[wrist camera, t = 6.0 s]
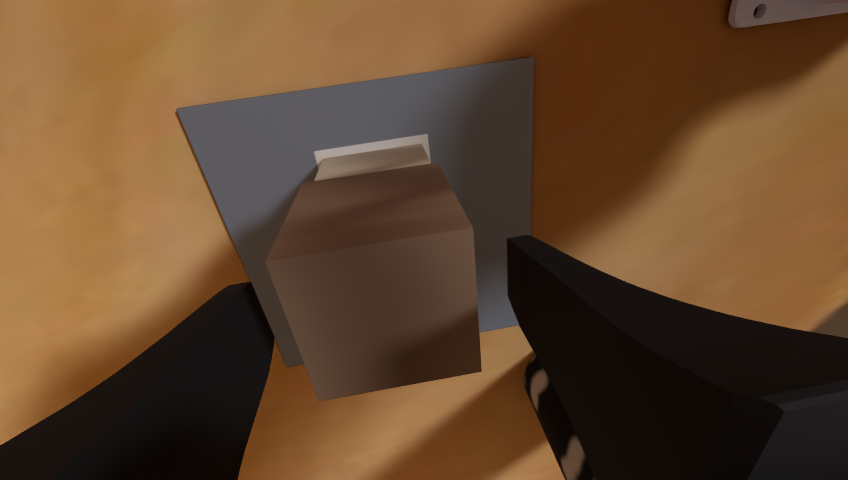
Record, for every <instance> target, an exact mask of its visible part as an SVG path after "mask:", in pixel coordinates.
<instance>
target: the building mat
mask: <svg viewBox="0 0 848 480" xmlns="http://www.w3.org/2000/svg"><path fill="white" fill-rule="evenodd" d="M533 98H534V57H528V58H521V59H514V60H507V61H500V62H493V63H487V64H480V65H473V66H466V67H459V68H452V69H445V70H438V71H431V72H425V73H418V74H411V75H404V76H397V77H390V78H383V79H376V80H370V81H363V82H356V83H349V84H342V85H335V86H328V87H321V88H315V89H308V90H301V91H294V92H287V93H280V94H273V95H266V96H259V97H253V98H246V99H239V100H232V101H225V102H218V103H211V104H204V105H198V106H191V107H184V108H178V109H176V110H177V112H178V115H179V117H180V119H181V122H182V124H183V126H184V129H185V131H186V133H187V136H188V138H189V140H190V143H191V145H192V147H193V150H194V152H195V154H196V157H197V159H198V161H199V164H200V166H201V168H202V171H203V173H204V175H205V178H206V180H207V182H208V185H209V187H210V189H211V192H212V194H213V196H214V199H215V201H216V203H217V206H218V208H219V210H220V213H221V215H222V217H223V220H224V222H225V224H226V227H227V229H228V231H229V234H230V236H231V238H232V241H233V243H234V245H235V248H236V250H237V252H238V255H239V257H240V259H241V262H242V264H243V266H244V269H245V271H246V273H247V276H248V278H249V280H250V282H251V283H252V285H253V287H254V290H255V292H256V295H257V297H258V299H259V302H260V304H261V306H262V309H263V311H264V313H265V316H266V318H267V320H268V323H269V325H270V327H271V330H272V332H273V334H274V337H275V341H276V343H277V346H278V348H279V350H280V353H281V355H282V357H283V360H284V362H285V364H286V367H292V366H297V365H303V364H304V362H303V359H302V357H301V354H300V351H299V349H298V346H297V344H296V341H295V338H294V336H293V333H292V331H291V328H290V325H289V323H288V320H287V318H286V315H285V312H284V310H283V307H282V305H281V302H280V299H279V297H278V294H277V292H276V289H275V286H274V284H273V281H272V279H271V276H270V273H269V271H268V268H267V266H266V263H265V261H266V259H267V257H268V254H269V252H270V250H271V248H272V246H273V244H274V242H275V240H276V238H277V236H278V233H279V231H280V229H281V227H282V225H283V223H284V221H285V219H286V217H287V214H288V212H289V210H290V208H291V206H292V204H293V202H294V200H295V198H296V196H297V193H298V191H299V189H300V187H301V185H302V183H305V182H312V181H314V180H315V177H316V175H317V172H318V170H319V167H320V165H321V162H322V160H323V159H324V158H330V157H336V156H343V155H349V154H356V153H362V152H369V151H375V150H382V149H388V148H395V147H401V146H407V145H414V144H420V143H422V145H423V147H424V150H425V152H426V154H427V156H428V158H429V160H430V162H431V163H437V162H438V163H439V165H440V167H441V169H442V171H443V173H444V175H445V176H446V178H447V180H448V182H449V184H450V186H451V188H452V189H453V191H454V193H455V195H456V197H457V199H458V201H459V202H460V204H461V206H462V208H463V210H464V212H465V214H466V215H467V217H468V219H469V221H470V223H471V225H472V227H473V233H474V250H475V267H476V285H477V302H478V319H479V332H484V331H490V330H495V329H501V328H506V327H512V326H517V325H519V323H518V321H517V319H516V316H515V314H514V311H513V309H512V306H511V303H510V301H509V298H508V289H507V238H512V237H517V236H523V235H529V236H531V194H532V146H533Z"/></svg>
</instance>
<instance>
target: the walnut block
mask: <svg viewBox="0 0 848 480" xmlns="http://www.w3.org/2000/svg"><path fill="white" fill-rule="evenodd" d="M265 263H266V266H267V268H268V271H269V273H270V276H271V279H272V281H273V284H274V286H275V289H276V292H277V294H278V297H279V299H280V302H281V305H282V307H283V310H284V312H285V315H286V318H287V320H288V323H289V325H290V328H291V331H292V333H293V336H294V338H295V341H296V344H297V346H298V349H299V351H300V354H301V357H302V359H303V362H304V364H305V367H306V370H307V372H308V375H309V377H310V380H311V383H312V385H313V388H314V390H315V393H316V396H317V398H318V401H324V400H329V399H334V398H340V397H345V396H351V395H356V394H362V393H367V392H373V391H378V390H384V389H389V388H395V387H400V386H405V385H411V384H416V383H422V382H427V381H433V380H438V379H444V378H449V377H455V376H460V375H466V374H471V373H476V372H481V354H480V337H479V319H478V302H477V285H476V267H475V250H474V233H473V227H472V225H471V223H470V221H469V219H468V217H467V215H466V214H465V212H464V210H463V208H462V206H461V204H460V202H459V201H458V199H457V197H456V195H455V193H454V191H453V189H452V188H451V186H450V184H449V182H448V180H447V178H446V176H445V175H444V173H443V171H442V169H441V167H440V165H439V163H438V162H437V163H430V164H424V165H417V166H410V167H404V168H397V169H391V170H384V171H377V172H371V173H364V174H358V175H351V176H345V177H338V178H331V179H325V180H318V181H312V182H305V183H302V185H301V187H300V189H299V191H298V193H297V196H296V198H295V200H294V202H293V204H292V206H291V208H290V210H289V212H288V214H287V217H286V219H285V221H284V223H283V225H282V227H281V229H280V231H279V233H278V236H277V238H276V240H275V242H274V244H273V246H272V248H271V250H270V252H269V254H268V257H267V259H266V261H265Z"/></svg>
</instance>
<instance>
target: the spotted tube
mask: <svg viewBox="0 0 848 480" xmlns="http://www.w3.org/2000/svg"><path fill="white" fill-rule="evenodd" d="M524 381H525V388H526V391H527V394H528V396H529V398H530V401H531V403H532V405H533V407H534V410H535V412H536V414H537V417H538V419H539V421H540V423H541V426H542V428H543V430H544V432H545V435H546V437H547V439H548V442H549V444H550V446H551V448H552V451H553V453H554V455H555V458H556V460H557V462H558V464H559V467H560V469H561V471H562V473H563V476H564V478H565V480H595V478H594V475H593V473H592V471H591V468H590V466H589V463H588V461H587V459H586V456H585V454H584V451H583V449H582V447H581V444H580V442H579V439H578V437H577V435H576V433H575V430H574V428H573V426H572V424H571V421H570V419H569V417H568V414H567V412H566V410H565V408H564V405H563V403H562V402H561V400H560V398H559V396H558V394H557V392H556V390H555V388H554V386H553V385H552V383H551V381H550V379H549V377H548V376H547V374H546V372H545V370H544V369H543V367H542V365H541V363H540V362H539V360H538V358H537V356H536V354H535V355H534V356H533V357H532V359H531V360H530V362H529V364H528V366H527V369H526V373H525V377H524Z"/></svg>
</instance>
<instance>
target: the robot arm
mask: <svg viewBox="0 0 848 480" xmlns="http://www.w3.org/2000/svg"><path fill="white" fill-rule="evenodd" d="M756 7H758V8H757V13H756V15H755V16H753V15H754V10H755V8H756ZM847 12H848V0H732V3H731V8H730V12H729V17H728V21H729V24H730V25H731V26H732V27H735V28H744V27H750V26H757V25H764V24H771V23H778V22H785V21H792V20H799V19H805V18H812V17H819V16H826V15H833V14H840V13H847ZM507 289H508V298H509V301H510V303H511V306H512V309H513V311H514V314H515V316H516V319H517V321H518V323H519V326H520V327H521V329H522V331H523V333H524V335H525V337H526V338H527V340H528V342H529V344H530V346H531V347H532V349H533V351H534V353H535V354H536V356H537V358H538V360H539V362H540V363H541V365H542V367H543V369H544V370H545V372H546V374H547V376H548V377H549V379H550V381H551V383H552V385H553V386H554V388H555V390H556V392H557V394H558V396H559V398H560V400H561V402H562V403H563V405H564V408H565V410H566V412H567V414H568V417H569V419H570V421H571V424H572V426H573V428H574V430H575V433H576V435H577V437H578V439H579V442H580V444H581V447H582V449H583V451H584V454H585V456H586V459H587V461H588V463H589V466H590V468H591V471H592V473H593V475H594V478H595V480H848V338H844V337H837V336H832V335H826V334H820V333H813V332H808V331H802V330H796V329H791V328H786V327H781V326H777V325H772V324H767V323H763V322H758V321H753V320H749V319H744V318H740V317H736V316H732V315H728V314H724V313H720V312H716V311H713V310H709V309H706V308H702V307H699V306H695V305H692V304H688V303H685V302H681V301H678V300H675V299H672V298H669V297H666V296H663V295H660V294H657V293H654V292H652V291H649V290H646V289H643V288H640V287H638V286H635V285H632V284H630V283H627V282H625V281H622V280H620V279H618V278H616V277H613V276H611V275H609V274H606V273H604V272H602V271H600V270H597V269H595V268H593V267H591V266H589V265H587V264H585V263H583V262H581V261H579V260H577V259H575V258H573V257H571V256H569V255H567V254H565V253H563V252H561V251H559V250H557V249H555V248H554V247H552V246H550V245H548V244H546V243H544V242H542V241H540V240H538V239H536V238H534V237H532V236H529V235H523V236H517V237H512V238H507ZM274 339H275V337H274V334H273V332H272V330H271V327H270V325H269V323H268V320H267V318H266V316H265V313H264V311H263V309H262V306H261V304H260V302H259V299H258V297H257V295H256V292H255V290H254V287H253V285H252V283H251V282H246V283H241V284H235V285H229V286H227V287H226V288H224V289H223V290H221V291H220V292H218V293H217V294H216V295H215V296H213V297H212V298H211V299H209V300H208V301H207V302H206V303H204V304H203V305H202V306H201V307H199V308H198V309H197V310H196V311H195V312H193V313H192V314H191V315H190V316H188V317H187V318H186V319H185V320H184V321H182V322H181V323H180V324H179V325H177V326H176V327H175V328H174V329H172V330H171V331H170V332H169V333H168V334H166V335H165V336H164V337H163V338H161V339H160V340H159V341H157V342H156V343H155V344H153V345H152V346H151V347H149V348H148V349H147V350H145V351H144V352H143V353H142V354H140V355H139V356H138V357H136V358H135V359H134V360H132V361H131V362H130V363H128V364H127V365H126V366H125V367H123V368H122V369H120V370H119V371H118V372H116V373H115V374H113V375H112V376H110V377H109V378H108V379H106V380H105V381H103V382H102V383H100V384H99V385H97V386H96V387H94V388H93V389H91V390H90V391H88V392H87V393H85V394H84V395H82V396H81V397H79V398H78V399H76V400H75V401H73V402H72V403H70V404H69V405H67V406H65V407H64V408H62V409H61V410H59V411H57V412H56V413H54V414H52V415H51V416H49V417H47V418H46V419H44V420H42V421H41V422H39V423H37V424H36V425H34V426H32V427H30V428H29V429H27V430H25V431H24V432H22V433H20V434H19V435H17V436H15V437H14V438H12V439H10V440H9V441H7V442H5V443H4V444H2V445H0V480H238V475H239V470H240V466H241V463H242V459H243V455H244V452H245V448H246V445H247V442H248V439H249V435H250V432H251V429H252V426H253V423H254V419H255V416H256V413H257V410H258V407H259V404H260V400H261V397H262V394H263V391H264V387H265V384H266V381H267V377H268V374H269V370H270V365H271V359H272V353H273V346H274Z"/></svg>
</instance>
